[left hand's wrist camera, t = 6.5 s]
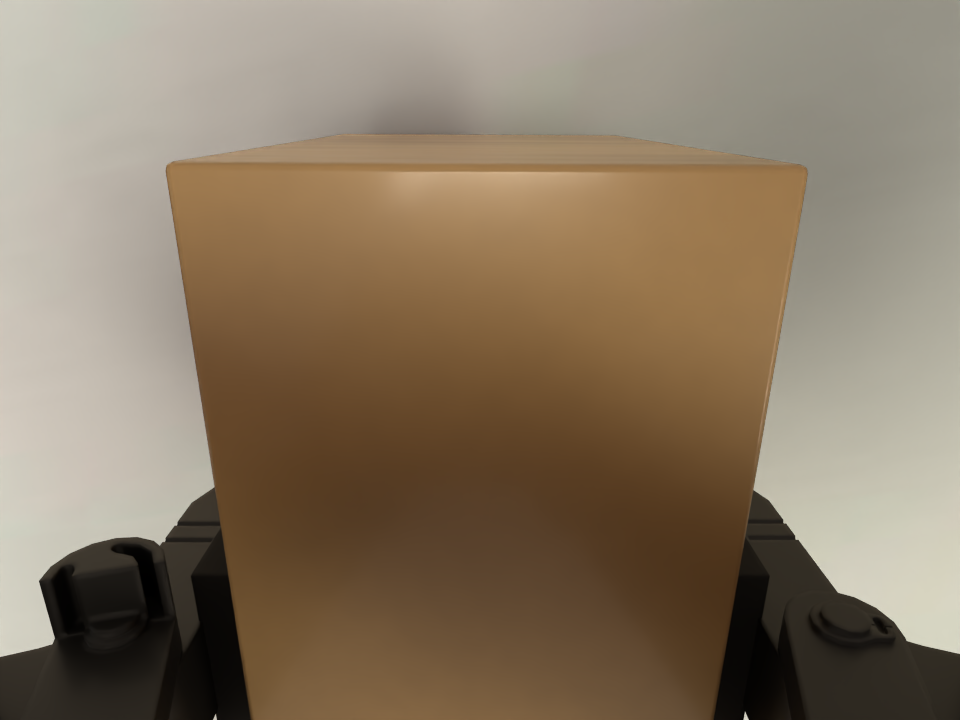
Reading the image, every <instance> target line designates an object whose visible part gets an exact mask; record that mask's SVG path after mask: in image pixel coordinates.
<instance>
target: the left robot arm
mask: <svg viewBox="0 0 960 720" xmlns="http://www.w3.org/2000/svg"><path fill="white" fill-rule="evenodd" d="M39 583H40V586H41V590H42V594H43V597H44V601H45V604H46V608H47V611H48V615H49V618H50V622H51V626H52V629H53V633H54V636H55V640H54V642H53V644H52V645H49V646H45V647H42V648H39V649H34V650H30V651H25V652H21V653H16V654H12V655H8V656H3V657H0V720H213V718H214V716H215V714H216V717H217V720H251V718H250V711H249V705H248V698H247V692H246V686H245V679H244V673H243V666H242V660H241V653H240V647H239V640H238V634H237V627H236V621H235V615H234V608H233V602H232V595H231V589H230V582H229V576H228V569H227V563H226V556H225V550H224V543H223V537H222V531H221V524H220V518H219V511H218V505H217V498H216V492H215V487H214V488H213V489H211V490H210V491H209V492H207V493H206V494H204V495H203V496H201V497H200V498H198V499H197V500H195V501H194V502H192V503H191V505H190V506H189V507H188V509H187V510H186V511H185V513H184V514H183V515H182V517H181V518H180V520H179V521H178V525H177V526H174V528H173V529H172V530H171V532H170V533H169V534H168V536H167V537H166V541H165V542H162V544H161V545H160V546H159V545H158V544H157V543H156V542H154V541H151V540H147V539H143V538H138V537H131V538H115V539H111V540H107V541H102V542H98V543H94V544H91V545H89V546H87V547H84V548H82V549H80V550H77V551H75V552H73V553H70V554H69V555H67V556H66V557H64V558H63V559H61V560H60V561H58V562H57V563H56V564H54V565H53V566H51V567H50V568H49V570H48V571H47V572H46V573H45V574H44V576H43V577H42V578H41V579H40V580H39ZM745 712H746V714H747V716H748V719H749V720H960V654H957V653H952V652H948V651H943V650H939V649H934V648H930V647H925V646H921V645H918V644H915V643H911V642H908V641H906V639H905V637H904V636H903V634H902V633H901V631H900V630H899V629H898V627H897V626H896V624H895V623H894V622H893V621H892V620H891V619H889V618H888V617H887V616H886V615H884V614H883V613H882V612H880V611H879V610H878V609H877V608H875V607H873V606H871V605H869V604H867V603H865V602H863V601H861V600H859V599H857V598H855V597H851V596H847V595H844V594H840V593H838V592H837V591H836V590H835V588H834V587H833V586H832V584H831V583H830V582H829V580H828V579H827V578H826V576H825V575H824V574H823V572H822V571H821V570H820V568H819V567H818V566H817V564H816V563H815V562H814V560H813V559H812V558H811V556H810V555H809V554H808V552H807V551H806V550H805V548H804V547H803V546H802V544H801V543H800V542H799V540H796V539H795V535H794V534H793V532H792V531H791V530H790V528H789V527H788V526H787V524H784V523H783V519H782V518H781V516H780V515H779V514H778V512H777V511H776V510H775V508H774V507H773V506H772V504H771V503H770V502H769V500H767V499H766V498H764V497H763V496H761V495H760V494H758V493H757V492H755V491H754V490H753V494H752V500H751V506H750V511H749V517H748V523H747V529H746V535H745V540H744V546H743V552H742V558H741V564H740V569H739V575H738V581H737V587H736V593H735V598H734V604H733V610H732V616H731V621H730V627H729V633H728V639H727V645H726V650H725V656H724V662H723V668H722V674H721V679H720V685H719V691H718V697H717V703H716V708H715V714H714V720H743V719H744V714H745Z"/></svg>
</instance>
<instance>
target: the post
mask: <svg viewBox="0 0 960 720" xmlns="http://www.w3.org/2000/svg"><path fill="white" fill-rule="evenodd" d="M166 175H167V182H168V188H169V195H170V201H171V208H172V214H173V221H174V227H175V233H176V240H177V246H178V253H179V259H180V266H181V272H182V279H183V285H184V292H185V298H186V305H187V311H188V317H189V324H190V330H191V337H192V343H193V350H194V356H195V363H196V369H197V376H198V382H199V388H200V395H201V401H202V408H203V414H204V421H205V427H206V434H207V440H208V447H209V453H210V460H211V466H212V472H213V479H214V485H215V492H216V498H217V505H218V511H219V518H220V524H221V531H222V537H223V543H224V550H225V556H226V563H227V569H228V576H229V582H230V589H231V595H232V602H233V608H234V615H235V621H236V627H237V634H238V640H239V647H240V653H241V660H242V666H243V673H244V679H245V686H246V692H247V698H248V705H249V711H250V718H251V720H714V714H715V708H716V703H717V697H718V691H719V685H720V679H721V674H722V668H723V662H724V656H725V650H726V645H727V639H728V633H729V627H730V621H731V616H732V610H733V604H734V598H735V593H736V587H737V581H738V575H739V569H740V564H741V558H742V552H743V546H744V540H745V535H746V529H747V523H748V517H749V511H750V506H751V500H752V494H753V488H754V482H755V477H756V471H757V465H758V459H759V453H760V448H761V442H762V436H763V430H764V424H765V419H766V413H767V407H768V401H769V396H770V390H771V384H772V378H773V372H774V367H775V361H776V355H777V349H778V343H779V338H780V332H781V326H782V320H783V314H784V309H785V303H786V297H787V291H788V285H789V280H790V274H791V268H792V262H793V256H794V251H795V245H796V239H797V233H798V227H799V222H800V216H801V210H802V204H803V199H804V193H805V187H806V181H807V175H808V173H807V168H806V167H804V166H802V165H799V164H793V163H787V162H780V161H774V160H767V159H761V158H755V157H748V156H742V155H736V154H729V153H723V152H717V151H710V150H704V149H697V148H691V147H685V146H678V145H672V144H666V143H659V142H653V141H646V140H640V139H634V138H627V137H621V136H603V135H421V134H341V135H335V136H329V137H323V138H317V139H310V140H304V141H298V142H292V143H285V144H279V145H273V146H267V147H260V148H254V149H248V150H242V151H236V152H229V153H223V154H217V155H211V156H204V157H198V158H192V159H186V160H179V161H173V162H171V163H169V164H167V167H166Z"/></svg>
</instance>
